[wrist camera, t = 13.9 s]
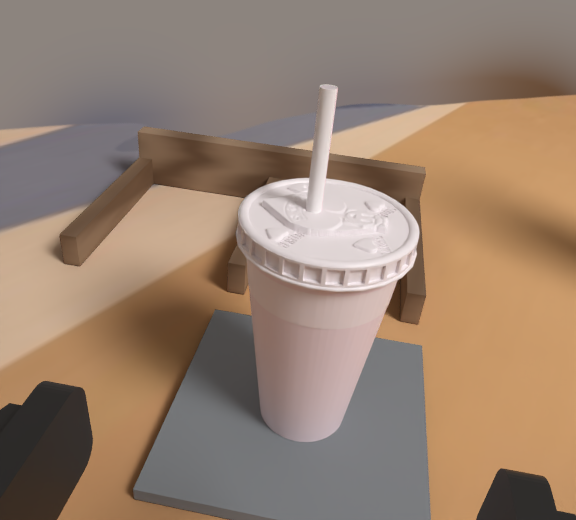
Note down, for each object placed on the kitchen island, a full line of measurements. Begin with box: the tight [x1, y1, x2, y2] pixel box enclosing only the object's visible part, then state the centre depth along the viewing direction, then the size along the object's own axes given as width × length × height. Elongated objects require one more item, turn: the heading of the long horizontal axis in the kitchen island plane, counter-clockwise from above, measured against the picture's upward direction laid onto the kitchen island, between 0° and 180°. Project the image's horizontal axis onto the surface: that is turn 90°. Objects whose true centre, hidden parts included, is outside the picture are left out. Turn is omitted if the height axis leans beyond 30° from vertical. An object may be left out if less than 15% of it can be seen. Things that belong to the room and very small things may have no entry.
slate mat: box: [133, 309, 431, 520], centre depth 25 cm, size 11×11×1 cm
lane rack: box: [60, 127, 426, 324], centre depth 36 cm, size 21×13×4 cm, turn 80°
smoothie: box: [236, 84, 419, 442], centre depth 21 cm, size 6×6×14 cm
